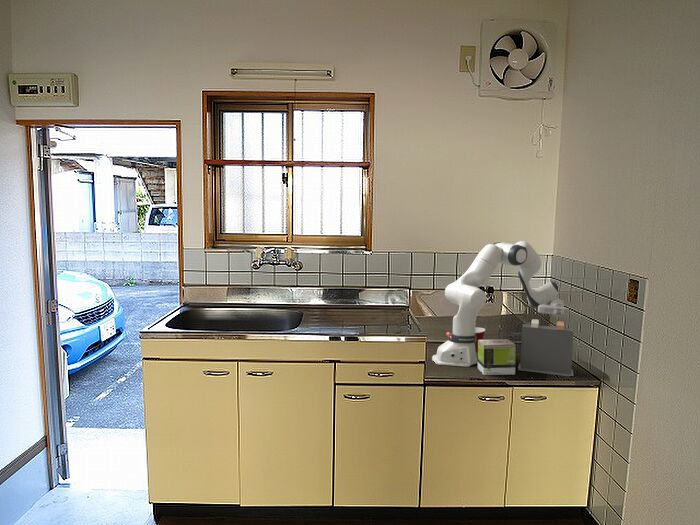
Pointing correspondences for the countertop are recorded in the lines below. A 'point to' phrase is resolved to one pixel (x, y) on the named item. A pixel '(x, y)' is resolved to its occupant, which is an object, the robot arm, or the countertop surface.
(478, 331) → the plastic cup
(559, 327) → the terracotta key
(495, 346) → the tea box
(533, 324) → the ivory key
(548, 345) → the panel
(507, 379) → the countertop surface
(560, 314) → the robot arm
